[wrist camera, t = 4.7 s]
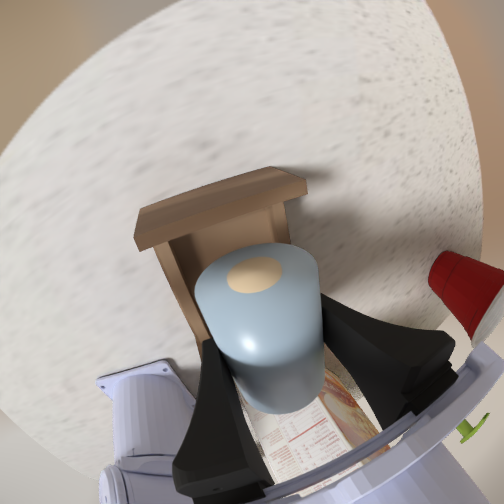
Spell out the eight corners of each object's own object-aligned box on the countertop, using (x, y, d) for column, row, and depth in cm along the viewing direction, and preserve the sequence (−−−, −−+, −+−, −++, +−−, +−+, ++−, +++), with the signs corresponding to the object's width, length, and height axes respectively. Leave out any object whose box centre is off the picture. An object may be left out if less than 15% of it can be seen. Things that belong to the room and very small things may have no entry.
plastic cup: (410, 270, 28) (484, 325, 18) (456, 218, 28) (526, 256, 18) (417, 315, 34) (471, 363, 24) (458, 269, 34) (511, 306, 24)
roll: (316, 339, 16) (332, 405, 12) (240, 353, 17) (240, 420, 13) (304, 231, 13) (333, 300, 8) (201, 252, 13) (183, 327, 9)
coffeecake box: (339, 376, 33) (418, 481, 16) (300, 406, 33) (365, 514, 17) (283, 334, 25) (399, 507, 8) (229, 376, 25) (308, 549, 9)
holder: (294, 298, 23) (322, 333, 19) (196, 335, 22) (208, 380, 18) (269, 166, 18) (305, 179, 13) (140, 208, 16) (133, 237, 12)
